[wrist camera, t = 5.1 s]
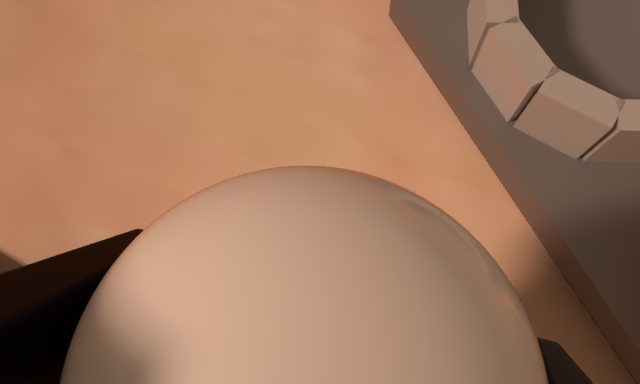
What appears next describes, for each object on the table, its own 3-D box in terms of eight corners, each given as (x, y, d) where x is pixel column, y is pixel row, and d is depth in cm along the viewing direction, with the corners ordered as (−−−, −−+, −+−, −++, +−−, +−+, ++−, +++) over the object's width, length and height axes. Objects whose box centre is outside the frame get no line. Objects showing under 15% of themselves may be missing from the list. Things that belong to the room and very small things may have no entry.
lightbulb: (460, 297, 15) (707, 162, 5) (409, 537, 14) (630, 1140, 3) (255, 239, 16) (90, 17, 6) (182, 458, 14) (-257, 723, 4)
